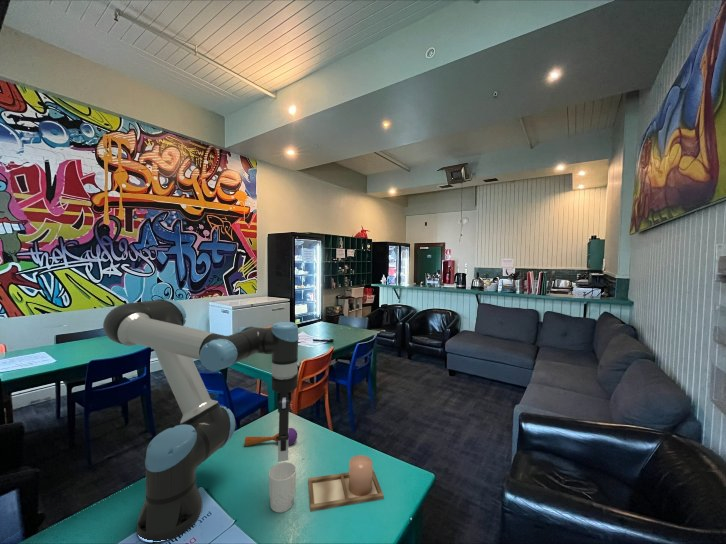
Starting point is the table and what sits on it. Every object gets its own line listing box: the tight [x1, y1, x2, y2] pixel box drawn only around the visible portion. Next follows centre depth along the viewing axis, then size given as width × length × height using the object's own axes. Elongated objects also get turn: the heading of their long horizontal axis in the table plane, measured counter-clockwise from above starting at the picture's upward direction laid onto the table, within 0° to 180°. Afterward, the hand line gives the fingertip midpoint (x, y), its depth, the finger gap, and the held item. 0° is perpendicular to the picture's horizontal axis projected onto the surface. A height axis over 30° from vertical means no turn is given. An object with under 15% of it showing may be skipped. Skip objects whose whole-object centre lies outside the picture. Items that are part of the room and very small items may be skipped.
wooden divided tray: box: [307, 468, 385, 512], centre depth 92 cm, size 22×12×2 cm, turn 104°
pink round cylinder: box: [348, 454, 374, 496], centre depth 93 cm, size 7×7×8 cm
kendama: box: [244, 427, 298, 447], centre depth 117 cm, size 6×6×20 cm
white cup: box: [268, 461, 297, 513], centre depth 88 cm, size 8×8×10 cm
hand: (283, 445), depth 88 cm, fingers open, 13 cm apart
